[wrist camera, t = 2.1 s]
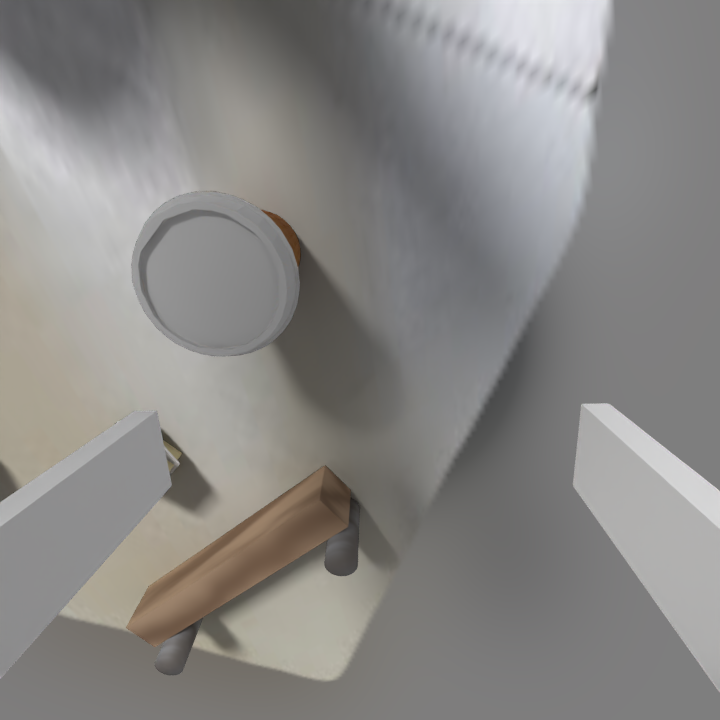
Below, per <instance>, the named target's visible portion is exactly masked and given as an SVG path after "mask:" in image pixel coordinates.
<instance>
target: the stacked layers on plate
mask: <svg viewBox="0 0 720 720" xmlns="http://www.w3.org/2000/svg"><path fill="white" fill-rule="evenodd" d="M118 422H119V421H117V422H116V423H118ZM116 423H115V424H116ZM115 424H114V425H115ZM163 443H164V448H165V453H166V458H167V463H168V468H169V473H170V475H171V474H172V473H173V471H174V470H175V469H176V468H177V467H178V466H179V464H180V463H179V462H178V459H179V457H180V456H181V454H182V453H181V452H180V451H178V450H177V449H175V448H174V447H172V446H171V445H170V444H168V443H167V442H165V441H164V440H163Z"/></svg>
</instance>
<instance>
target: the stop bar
mask: <svg viewBox="0 0 720 720" xmlns="http://www.w3.org/2000/svg"><path fill="white" fill-rule="evenodd" d="M350 496H351V490H350V489H349V488H348V487H347V486H346V485H345V484H344V483H343V482H342V481H341V480H340V479H339V478H338V477H337V476H336V475H335V474H334V473H333V472H332V471H331V470H330V469H329V468H328V467H327V466H326V465H325V466H323V467H322V468H320V469H319V470H317V471H316V472H315V473H313V474H312V475H310V476H309V477H307V478H306V479H304V480H303V481H301V482H300V483H299V484H297V485H296V486H294V487H293V488H291V489H290V490H288V491H287V492H285V493H284V494H283V495H281V496H280V497H278V498H277V499H275V500H274V501H272V502H271V503H269V504H268V505H267V506H265V507H264V508H262V509H261V510H259V511H258V512H256V513H255V514H253V515H252V516H251V517H249V518H248V519H246V520H245V521H243V522H242V523H240V524H239V525H237V526H236V527H235V528H233V529H232V530H230V531H229V532H227V533H226V534H224V535H223V536H221V537H220V538H219V539H217V540H216V541H214V542H213V543H211V544H210V545H208V546H207V547H205V548H204V549H203V550H201V551H200V552H198V553H197V554H195V555H194V556H192V557H191V558H189V559H188V560H187V561H185V562H184V563H182V564H181V565H179V566H178V567H176V568H175V569H173V570H172V571H171V572H169V573H168V574H166V575H165V576H163V577H162V578H160V579H159V580H157V581H156V582H155V583H153V584H152V585H150V586H149V587H148V589H147V590H146V592H145V594H144V596H143V598H142V599H141V601H140V603H139V605H138V607H137V608H136V610H135V612H134V614H133V616H132V618H131V619H130V621H129V623H128V625H127V627H126V628H127V629H128V630H130V631H131V632H133V633H134V634H136V635H137V636H139V637H140V638H142V639H143V640H145V641H146V642H148V643H149V644H151V645H152V646H154V647H156V646H158V645H159V644H161V643H162V642H164V643H163V646H162V648H161V650H160V652H159V655H158V657H157V659H156V661H155V667H156V669H157V670H158V671H159V672H161V673H163V674H166V675H177V674H180V673H181V672H182V671H183V668H184V666H185V663H186V660H187V658H188V655H189V653H190V650H191V648H192V645H193V643H194V640H195V637H196V635H197V632H198V630H199V627H200V625H201V622H202V619H203V617H204V616H206V615H207V614H209V613H211V612H212V611H214V610H215V609H217V608H219V607H220V606H222V605H223V604H225V603H227V602H228V601H230V600H231V599H233V598H235V597H236V596H238V595H239V594H241V593H243V592H244V591H246V590H248V589H249V588H251V587H252V586H254V585H256V584H257V583H259V582H260V581H262V580H264V579H265V578H267V577H268V576H270V575H272V574H273V573H275V572H276V571H278V570H280V569H281V568H283V567H284V566H286V565H288V564H289V563H291V562H293V561H294V560H296V559H297V558H299V557H301V556H302V555H304V554H305V553H307V552H309V551H310V550H312V549H313V548H315V547H317V546H318V545H320V544H321V543H323V542H325V541H326V540H327V546H326V554H325V562H324V564H325V568H326V569H327V570H328V571H329V572H330V573H332V574H334V575H337V576H347V575H350V574H352V573H353V572H355V570H356V569H357V566H358V543H359V518H360V506H359V504H358V503H357V502H356V501H355V500H354V499H352V498H350Z"/></svg>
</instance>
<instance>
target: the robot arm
mask: <svg viewBox="0 0 720 720" xmlns="http://www.w3.org/2000/svg"><path fill="white" fill-rule="evenodd" d="M171 486H172V483H171V478H170V473H169V468H168V463H167V458H166V453H165V448H164V443H163V438H162V433H161V428H160V423H159V418H158V413H157V411H134V412H132V413H131V414H129V415H128V416H126V417H125V418H123V419H122V420H121V421H119V422H118V423H116V424H115V425H113V426H112V427H110V428H109V429H107V430H106V431H104V432H103V433H101V434H100V435H98V436H97V437H95V438H94V439H93V440H91V441H90V442H88V443H87V444H85V445H84V446H82V447H81V448H79V449H78V450H76V451H75V452H73V453H72V454H70V455H69V456H67V457H66V458H65V459H63V460H62V461H60V462H59V463H57V464H56V465H54V466H53V467H51V468H50V469H48V470H47V471H45V472H44V473H42V474H41V475H39V476H38V477H36V478H35V479H34V480H32V481H31V482H29V483H28V484H26V485H25V486H23V487H22V488H20V489H19V490H17V491H16V492H14V493H13V494H11V495H10V496H8V497H7V498H6V499H4V500H3V501H1V502H0V679H1V678H2V676H3V675H4V674H5V673H6V672H7V671H8V669H10V667H11V666H12V665H13V664H14V663H15V662H16V661H17V660H18V658H19V657H20V656H21V655H22V654H23V653H24V652H25V651H26V649H27V648H28V647H29V646H30V645H31V644H32V643H33V642H34V640H35V639H36V638H37V637H38V636H39V635H40V633H42V631H43V630H44V629H45V628H46V627H47V626H48V625H49V624H50V622H51V621H52V620H53V619H54V618H55V617H56V616H57V615H58V613H59V612H60V611H61V610H62V609H63V608H64V607H65V606H66V604H67V603H68V602H69V601H70V600H71V599H72V598H73V596H74V595H75V594H76V593H77V592H78V591H79V590H80V589H81V587H82V586H83V585H84V584H85V583H86V582H87V581H88V580H89V578H90V577H91V576H92V575H93V574H94V573H95V572H96V571H97V569H98V568H99V567H100V566H101V565H102V564H103V563H104V562H105V560H106V559H107V558H108V557H109V556H110V555H111V554H112V553H113V551H114V550H115V549H116V548H117V547H118V546H119V545H120V544H121V542H122V541H123V540H124V539H125V538H126V537H127V536H128V535H129V533H130V532H131V531H132V530H133V529H134V528H135V527H136V526H137V524H138V523H139V522H140V521H141V520H142V519H143V518H144V516H145V515H146V514H147V513H148V512H149V511H150V510H151V509H152V507H153V506H154V505H155V504H156V503H157V502H158V501H159V500H160V498H161V497H162V496H163V495H164V494H165V493H166V492H167V491H168V489H169V488H170V487H171ZM573 486H574V488H575V489H576V491H577V492H578V494H579V495H580V496H581V498H582V499H583V500H584V502H585V504H586V505H587V506H588V508H589V509H590V511H591V512H592V513H593V515H594V516H595V517H596V519H597V520H598V522H599V523H600V524H601V526H602V527H603V529H604V530H605V532H606V533H607V534H608V536H609V537H610V539H611V540H612V542H613V543H614V544H615V546H616V547H617V548H618V550H619V551H620V553H621V554H622V556H623V557H624V558H625V560H626V561H627V563H628V564H629V565H630V567H631V568H632V569H633V571H634V572H635V574H636V575H637V577H638V578H639V579H640V581H641V582H642V584H643V585H644V586H645V588H646V589H647V591H648V592H649V593H650V595H651V596H652V598H653V599H654V601H655V602H656V604H657V605H658V606H659V608H660V609H661V611H662V612H663V613H664V615H665V616H666V618H667V619H668V620H669V622H670V623H671V625H672V626H673V627H674V629H675V630H676V632H677V633H678V635H679V636H680V637H681V639H682V640H683V642H684V643H685V644H686V646H687V647H688V649H689V650H690V651H691V653H692V654H693V656H694V657H695V658H696V660H697V661H698V663H699V664H700V665H701V667H702V668H703V670H704V671H705V673H706V674H707V675H708V677H709V678H710V679H711V681H712V682H713V684H714V685H715V686H716V688H717V689H718V691H719V692H720V491H719V490H718V489H717V488H715V487H714V486H713V485H711V484H710V483H709V482H708V481H706V480H705V479H704V478H703V477H701V476H700V475H699V474H697V473H696V472H695V471H694V470H692V469H691V468H690V467H689V466H687V465H686V464H685V463H684V462H682V461H681V460H680V459H678V458H677V457H676V456H674V455H673V454H672V453H671V452H669V451H668V450H667V449H666V448H665V447H663V446H662V445H661V444H659V443H658V442H657V441H656V440H654V439H653V438H652V437H650V436H649V435H648V434H647V433H646V432H644V431H643V430H642V429H641V428H639V427H638V426H637V425H635V424H634V423H633V422H632V421H630V420H629V419H627V417H625V416H624V415H623V414H621V413H620V412H619V411H618V410H616V409H615V408H614V407H613V406H611V405H610V404H608V403H607V404H606V403H605V404H581V414H580V422H579V432H578V442H577V452H576V461H575V470H574V480H573Z"/></svg>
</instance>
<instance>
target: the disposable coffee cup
mask: <svg viewBox="0 0 720 720" xmlns="http://www.w3.org/2000/svg"><path fill="white" fill-rule="evenodd" d="M300 257H301V254H300V245H299V241H298V238H297V236H296V234H295V232H294V231H293V229H292V228H291V226H290V225H289V224H288V223H287V222H286V221H285V220H284V219H282V218H281V217H279V216H278V215H275V214H273V213H271V212H267V211H264V210H260V209H259V208H257V207H256V206H254V205H252V204H251V203H249V202H247V201H245V200H243V199H241V198H238V197H236V196H233V195H229V194H224V193H220V192H215V191H204V192H191V193H187V194H183V195H179V196H177V197H175V198H173V199H171V200H169V201H167V202H165V203H164V204H163V205H161V206H160V207H159V208H158V209H157V210H156V211H154V212H153V214H152V215H151V216H150V217H149V219H148V220H147V221H146V222H145V224H144V226H143V228H142V230H141V232H140V234H139V237H138V239H137V241H136V244H135V248H134V251H133V256H132V264H131V266H132V282H133V285H134V289H135V292H136V295H137V298H138V301H139V303H140V305H141V306H142V308H143V310H144V312H145V314H146V315H147V317H148V318H149V319H150V320H151V322H152V323H153V324H154V325H155V327H156V328H157V329H158V330H159V331H161V332H162V333H163V334H164V335H165V336H166V337H167V338H169V339H170V340H172V341H173V342H174V343H176V344H178V345H180V346H182V347H184V348H186V349H188V350H190V351H193V352H197V353H200V354H204V355H210V356H236V355H243V354H247V353H251V352H254V351H256V350H259V349H261V348H263V347H265V346H267V345H268V344H270V343H271V342H272V341H274V340H275V339H276V338H277V337H278V336H279V335H280V334H281V333H282V332H283V331H284V330H285V328H286V327H287V325H288V324H289V322H290V321H291V319H292V316H293V314H294V311H295V309H296V306H297V303H298V297H299V288H300V280H299V271H298V267H299V263H300Z"/></svg>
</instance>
